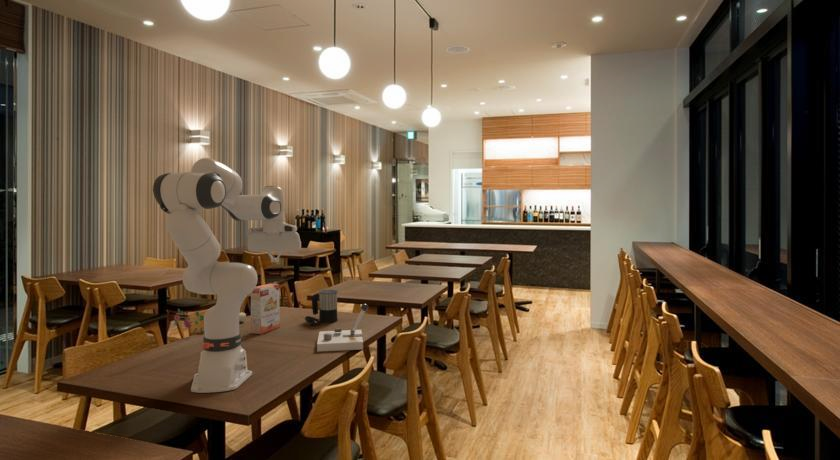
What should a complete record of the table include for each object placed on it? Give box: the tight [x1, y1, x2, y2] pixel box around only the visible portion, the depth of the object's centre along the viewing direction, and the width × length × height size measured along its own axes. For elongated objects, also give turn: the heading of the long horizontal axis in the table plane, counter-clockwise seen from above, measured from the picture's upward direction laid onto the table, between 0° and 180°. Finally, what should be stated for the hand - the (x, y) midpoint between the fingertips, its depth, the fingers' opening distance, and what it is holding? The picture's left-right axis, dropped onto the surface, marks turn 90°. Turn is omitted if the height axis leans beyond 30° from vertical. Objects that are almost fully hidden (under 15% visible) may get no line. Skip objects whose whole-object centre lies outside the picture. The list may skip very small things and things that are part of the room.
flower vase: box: [173, 308, 247, 334], centre depth 242 cm, size 12×12×35 cm
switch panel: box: [316, 329, 364, 352], centre depth 216 cm, size 20×18×3 cm
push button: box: [324, 333, 332, 340], centre depth 211 cm, size 3×3×2 cm
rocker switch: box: [333, 328, 342, 332], centre depth 220 cm, size 4×3×1 cm, turn 8°
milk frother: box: [304, 289, 339, 326], centre depth 254 cm, size 14×16×15 cm
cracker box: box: [250, 283, 281, 335], centre depth 239 cm, size 14×6×21 cm, turn 159°
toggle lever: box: [350, 303, 369, 335], centre depth 217 cm, size 3×3×14 cm
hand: (275, 262), depth 207 cm, fingers closed
